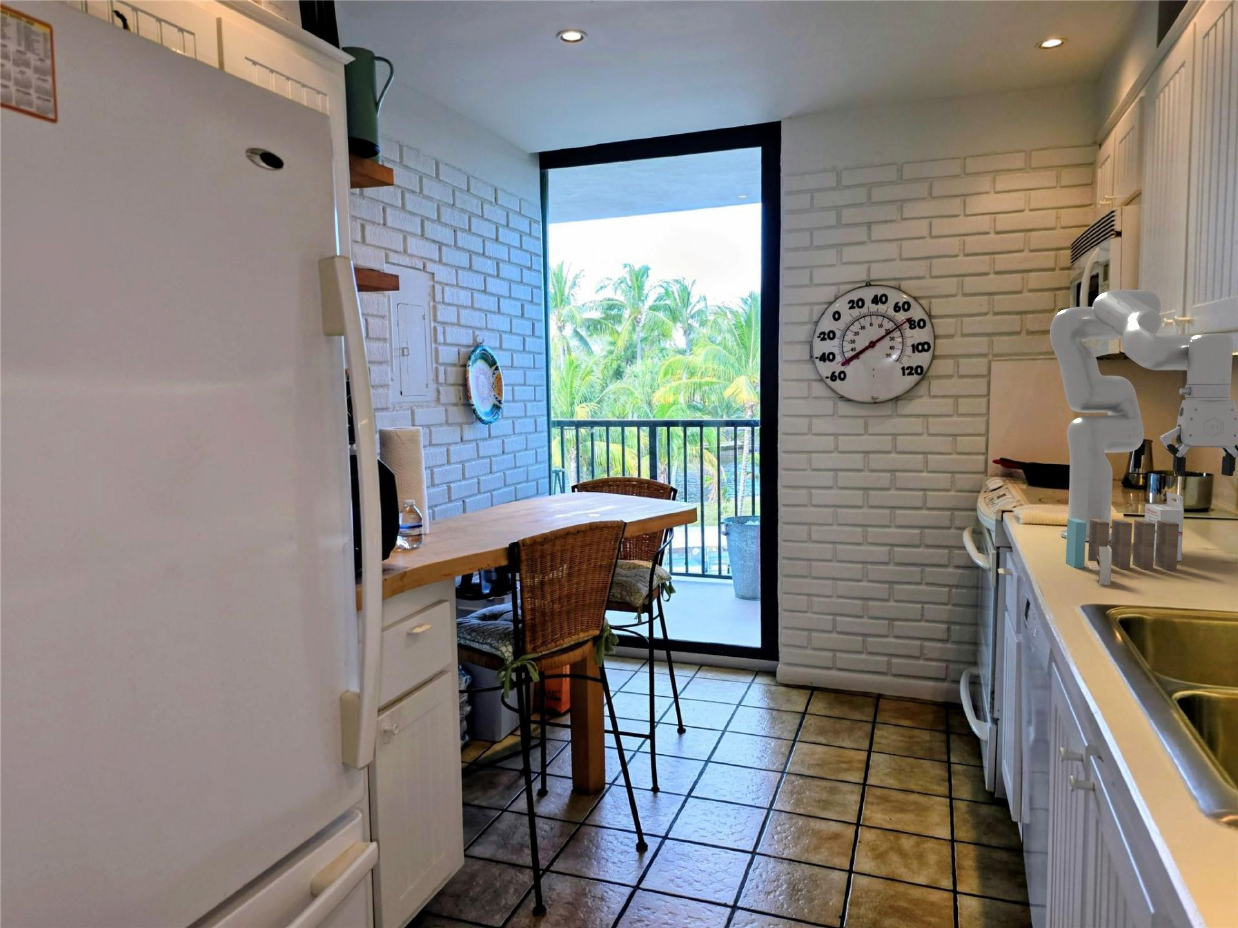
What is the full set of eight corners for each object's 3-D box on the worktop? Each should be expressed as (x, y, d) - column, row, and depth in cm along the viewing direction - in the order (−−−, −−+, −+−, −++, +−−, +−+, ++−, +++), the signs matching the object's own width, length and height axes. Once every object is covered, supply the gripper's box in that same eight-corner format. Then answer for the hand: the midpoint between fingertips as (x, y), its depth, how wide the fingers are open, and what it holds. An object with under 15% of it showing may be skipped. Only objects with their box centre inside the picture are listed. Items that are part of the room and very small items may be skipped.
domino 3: (1109, 564, 177) (1112, 519, 176) (1119, 564, 177) (1121, 519, 176) (1119, 569, 173) (1122, 523, 172) (1130, 569, 172) (1132, 523, 171)
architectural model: (1090, 586, 160) (1092, 549, 160) (1086, 578, 166) (1088, 543, 166) (1110, 587, 159) (1112, 550, 158) (1106, 580, 165) (1107, 544, 164)
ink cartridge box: (1141, 553, 189) (1144, 490, 188) (1164, 553, 188) (1168, 491, 187) (1157, 560, 181) (1161, 495, 179) (1182, 561, 180) (1186, 496, 178)
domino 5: (1154, 565, 176) (1157, 520, 175) (1164, 565, 176) (1167, 520, 175) (1166, 570, 171) (1168, 523, 170) (1176, 570, 171) (1179, 524, 170)
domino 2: (1087, 563, 178) (1089, 518, 177) (1097, 563, 178) (1099, 519, 177) (1097, 568, 173) (1099, 522, 172) (1107, 568, 173) (1109, 522, 172)
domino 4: (1132, 564, 177) (1134, 519, 176) (1142, 564, 176) (1144, 519, 175) (1142, 569, 172) (1145, 523, 171) (1153, 569, 171) (1155, 523, 170)
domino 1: (1065, 563, 179) (1067, 518, 178) (1075, 563, 179) (1077, 518, 178) (1074, 567, 174) (1076, 522, 173) (1084, 568, 174) (1086, 522, 173)
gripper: (1170, 393, 167) (1166, 476, 168) (1265, 392, 163) (1260, 477, 165) (1153, 393, 174) (1149, 473, 175) (1243, 392, 171) (1239, 473, 172)
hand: (1203, 475), depth 170 cm, fingers open, 8 cm apart
